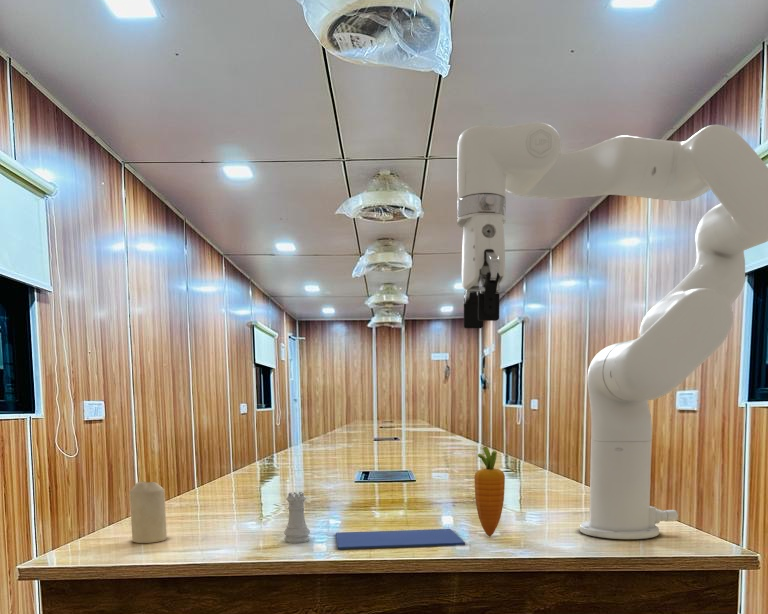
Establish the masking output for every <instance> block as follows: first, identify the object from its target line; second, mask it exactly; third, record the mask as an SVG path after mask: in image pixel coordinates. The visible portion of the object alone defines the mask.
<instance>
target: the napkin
mask: <svg viewBox="0 0 768 614" xmlns="http://www.w3.org/2000/svg"><path fill="white" fill-rule="evenodd" d="M335 539H336V545H337V550H339V551H340V550H365V549H390V548H391V549H394V548H420V547H421V548H422V547H423V548H424V547H447V546H466V542H465V541H464V540H463V539H461V537H460V536H458V534H456V533H455V532H454V531H453V530H452V529H451V528H434V529H433V528H431V529H429V528H428V529H405V530H404V529H403V530H402V529H401V530H376V531H372V530H371V531H346V532H345V531H344V532H335Z"/></svg>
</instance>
